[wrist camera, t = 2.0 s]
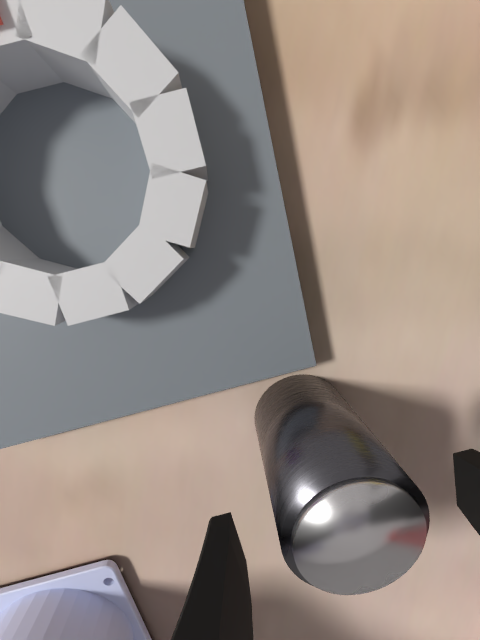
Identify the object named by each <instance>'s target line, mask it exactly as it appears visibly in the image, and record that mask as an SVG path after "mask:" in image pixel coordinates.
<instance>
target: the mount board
mask: <svg viewBox="0 0 480 640" xmlns="http://www.w3.org/2000/svg"><path fill="white" fill-rule="evenodd" d="M313 366H316V361H315V356H314V351H313V346H312V341H311V336H310V331H309V326H308V321H307V316H306V311H305V306H304V301H303V296H302V291H301V286H300V281H299V276H298V271H297V266H296V261H295V256H294V251H293V246H292V241H291V236H290V231H289V226H288V221H287V216H286V211H285V206H284V201H283V196H282V191H281V186H280V181H279V176H278V171H277V166H276V161H275V156H274V151H273V146H272V141H271V136H270V131H269V126H268V121H267V115H266V110H265V105H264V100H263V95H262V90H261V85H260V80H259V75H258V70H257V65H256V60H255V55H254V50H253V45H252V40H251V35H250V30H249V25H248V20H247V15H246V10H245V5H244V0H0V449H2V448H6V447H10V446H13V445H17V444H21V443H25V442H28V441H32V440H36V439H40V438H44V437H47V436H51V435H55V434H59V433H63V432H66V431H70V430H74V429H78V428H82V427H85V426H89V425H93V424H97V423H101V422H104V421H108V420H112V419H116V418H120V417H123V416H127V415H131V414H135V413H138V412H142V411H146V410H150V409H154V408H157V407H161V406H165V405H169V404H173V403H176V402H180V401H184V400H188V399H192V398H195V397H199V396H203V395H207V394H211V393H214V392H218V391H222V390H226V389H229V388H233V387H237V386H241V385H245V384H248V383H252V382H256V381H260V380H264V379H267V378H271V377H275V376H279V375H283V374H286V373H290V372H294V371H298V370H302V369H305V368H309V367H313Z"/></svg>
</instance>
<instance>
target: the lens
mask: <svg viewBox="0 0 480 640" xmlns="http://www.w3.org/2000/svg"><path fill="white" fill-rule="evenodd" d="M255 426H256V431H257V436H258V441H259V446H260V450H261V455H262V460H263V465H264V469H265V474H266V479H267V484H268V488H269V493H270V498H271V503H272V508H273V512H274V517H275V522H276V527H277V531H278V536H279V541H280V546H281V550H282V554H283V557H284V560H285V562H286V563H287V565H288V567H289V568H290V569H291V570H292V572H293V573H294V574H295V575H296V576H298V577H299V578H300V579H301V580H303V581H304V582H306V583H308V584H310V585H312V586H315V587H316V588H319V589H321V590H323V591H326V592H329V593H333V594H340V595H356V594H363V593H368V592H372V591H375V590H378V589H380V588H382V587H385V586H387V585H389V584H390V583H392V582H394V581H395V580H397V579H398V578H400V577H401V576H402V575H403V574H405V573H406V572H407V571H408V570H409V569H410V568H411V567H412V566H413V564H414V563H415V562H416V560H417V559H418V557H419V556H420V554H421V552H422V549H423V547H424V544H425V540H426V536H427V533H428V529H429V522H430V518H429V509H428V505H427V502H426V499H425V497H424V496H423V494H422V492H421V491H420V490H419V488H418V487H417V486H416V485H415V484H414V482H413V481H412V480H411V479H410V478H409V476H408V475H407V474H406V473H405V472H404V470H403V469H402V468H401V467H400V466H399V464H398V463H397V462H396V461H395V460H394V458H393V457H392V456H391V455H390V454H389V453H388V451H387V450H386V449H385V448H384V447H383V445H382V444H381V443H380V442H379V441H378V439H377V438H376V437H375V436H374V435H373V433H372V432H371V431H370V430H369V429H368V427H367V426H366V425H365V424H364V423H363V421H362V420H361V419H360V418H359V417H358V415H357V414H356V413H355V412H354V411H353V409H352V408H351V407H350V406H349V405H348V403H347V402H346V401H345V400H344V399H343V398H342V396H341V395H340V394H339V393H338V392H337V390H336V389H335V388H334V387H333V386H332V385H331V384H330V383H328V382H327V381H325V380H324V379H321V378H319V377H316V376H312V375H294V376H290V377H287V378H284V379H282V380H280V381H278V382H276V383H275V384H273V385H272V386H271V387H269V388H268V389H267V390H266V392H265V393H264V394H263V395H262V397H261V398H260V400H259V402H258V405H257V407H256V411H255Z"/></svg>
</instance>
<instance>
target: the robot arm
mask: <svg viewBox="0 0 480 640" xmlns="http://www.w3.org/2000/svg"><path fill="white" fill-rule="evenodd" d="M453 460H454V473H455V486H456V498H457V506H458V507H459V508H460V510H461V511H462V513H463V514H464V515H465V517H466V518H467V519H468V521H469V522H470V523H471V525H472V526H473V527H474V529H475V530H476V531H477V533H478V534H479V535H480V452H478V451H476V450H474V449H469V450H465V451H461V452H457V453H454V454H453ZM0 640H152V639H151V637H150V635H149V633H148V630H147V628H146V626H145V624H144V622H143V620H142V617H141V615H140V613H139V611H138V609H137V607H136V605H135V602H134V600H133V598H132V596H131V594H130V592H129V590H128V587H127V585H126V583H125V581H124V579H123V577H122V575H121V572H120V570H119V568H118V566H117V564H116V563H115V562H114V561H112V560H103V561H100V562H96V563H92V564H88V565H85V566H81V567H77V568H74V569H70V570H66V571H62V572H59V573H55V574H51V575H47V576H44V577H40V578H36V579H33V580H29V581H25V582H21V583H18V584H14V585H10V586H7V587H3V588H0ZM171 640H253V626H252V604H251V595H250V587H249V579H248V571H247V563H246V559H245V556H244V553H243V549H242V546H241V543H240V540H239V537H238V534H237V531H236V528H235V525H234V521H233V518H232V515H231V512H230V513H226V514H222V515H219V516H215V517H212V518H211V519H210V521H209V524H208V528H207V532H206V536H205V540H204V544H203V547H202V551H201V554H200V558H199V561H198V564H197V568H196V571H195V574H194V577H193V580H192V583H191V586H190V589H189V592H188V595H187V598H186V601H185V604H184V607H183V609H182V612H181V615H180V617H179V620H178V623H177V625H176V628H175V631H174V633H173V636H172V639H171Z"/></svg>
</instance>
